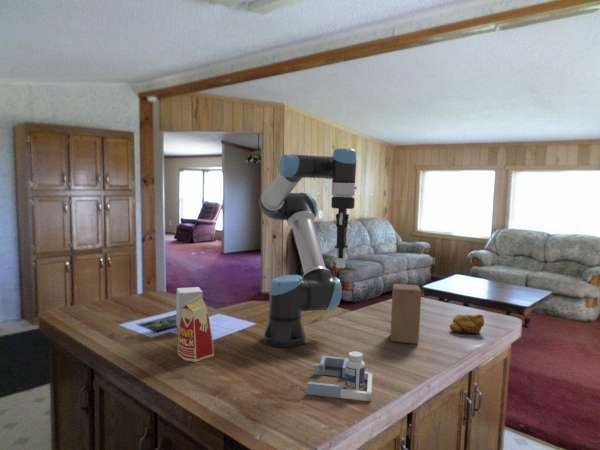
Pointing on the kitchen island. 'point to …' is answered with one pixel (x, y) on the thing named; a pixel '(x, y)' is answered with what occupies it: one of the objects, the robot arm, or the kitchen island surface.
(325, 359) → the blue-grey open frame
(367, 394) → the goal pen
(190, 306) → the milk carton
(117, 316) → the kitchen island surface
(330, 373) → the pit
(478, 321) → the bread roll
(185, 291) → the supplement box
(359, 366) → the pill bottle
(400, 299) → the wooden block
